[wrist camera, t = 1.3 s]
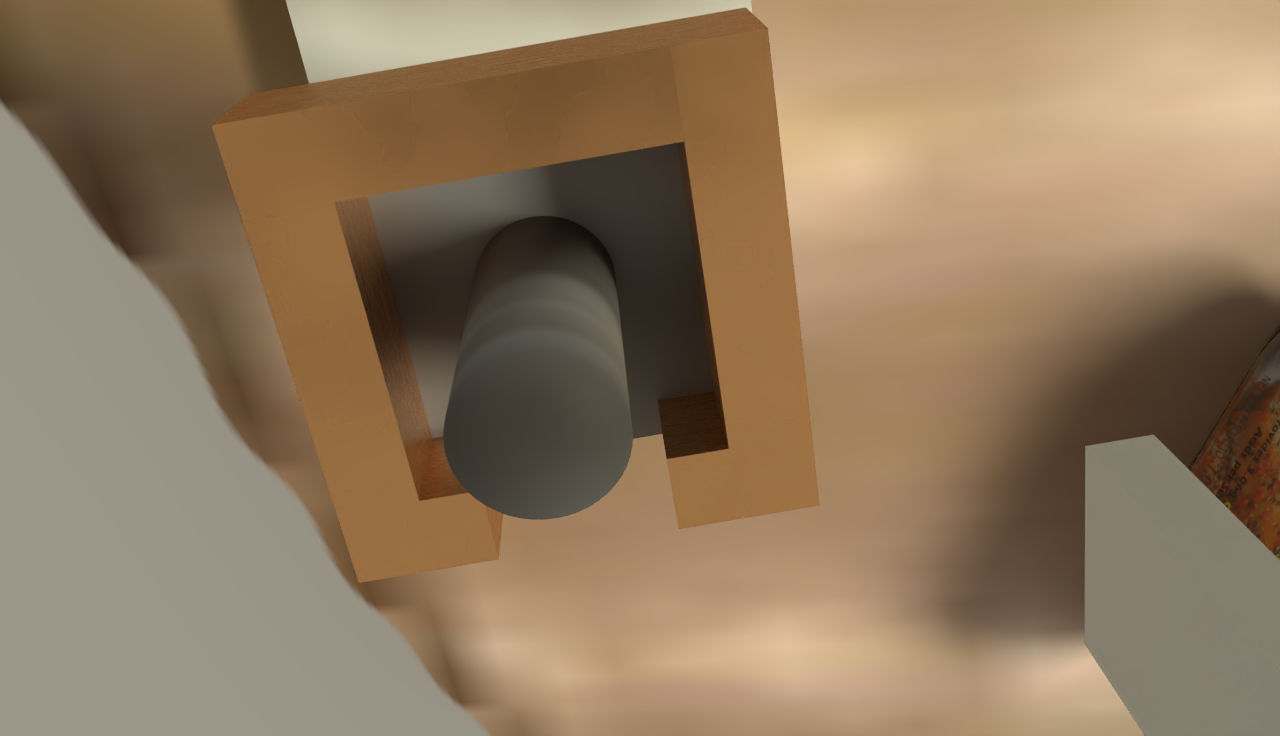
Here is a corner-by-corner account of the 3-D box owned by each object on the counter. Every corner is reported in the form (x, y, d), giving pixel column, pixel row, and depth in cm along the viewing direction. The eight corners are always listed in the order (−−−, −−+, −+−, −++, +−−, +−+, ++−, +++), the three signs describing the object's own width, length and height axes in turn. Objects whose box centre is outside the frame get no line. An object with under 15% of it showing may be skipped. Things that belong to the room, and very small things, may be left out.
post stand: (289, -37, 31) (-21, 108, 15) (730, -115, 31) (916, -56, 14) (399, 362, 36) (262, 800, 20) (778, 297, 36) (955, 685, 19)
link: (249, 94, 21) (211, 126, 19) (745, 7, 21) (767, 28, 19) (377, 514, 25) (359, 582, 23) (796, 443, 25) (819, 505, 22)
